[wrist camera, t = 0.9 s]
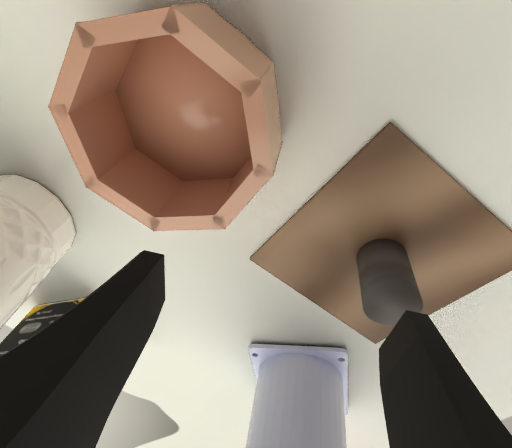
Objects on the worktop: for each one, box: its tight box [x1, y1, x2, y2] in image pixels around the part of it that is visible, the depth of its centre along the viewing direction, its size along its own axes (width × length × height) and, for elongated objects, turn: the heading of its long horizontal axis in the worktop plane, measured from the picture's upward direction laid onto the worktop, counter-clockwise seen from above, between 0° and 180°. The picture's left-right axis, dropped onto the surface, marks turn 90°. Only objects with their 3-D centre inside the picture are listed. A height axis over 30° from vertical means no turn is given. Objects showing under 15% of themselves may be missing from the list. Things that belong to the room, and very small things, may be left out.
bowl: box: [48, 3, 283, 231], centre depth 16 cm, size 9×9×4 cm
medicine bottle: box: [0, 298, 85, 356], centre depth 26 cm, size 7×7×12 cm
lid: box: [250, 123, 512, 344], centre depth 20 cm, size 12×12×5 cm
